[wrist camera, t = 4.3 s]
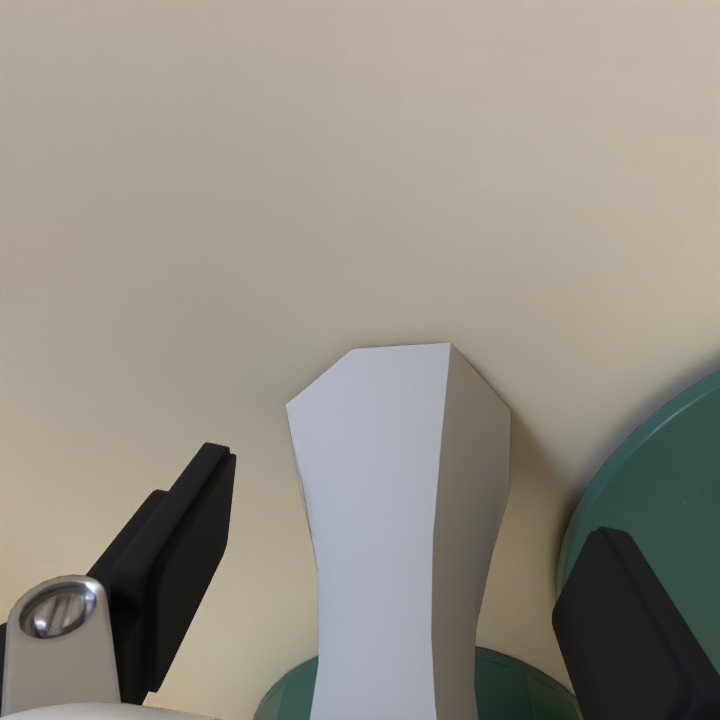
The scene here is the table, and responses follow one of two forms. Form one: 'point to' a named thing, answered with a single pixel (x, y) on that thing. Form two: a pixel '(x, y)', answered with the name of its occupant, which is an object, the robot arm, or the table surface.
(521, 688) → the tin
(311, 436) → the flask
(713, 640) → the tin lid
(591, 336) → the table surface
